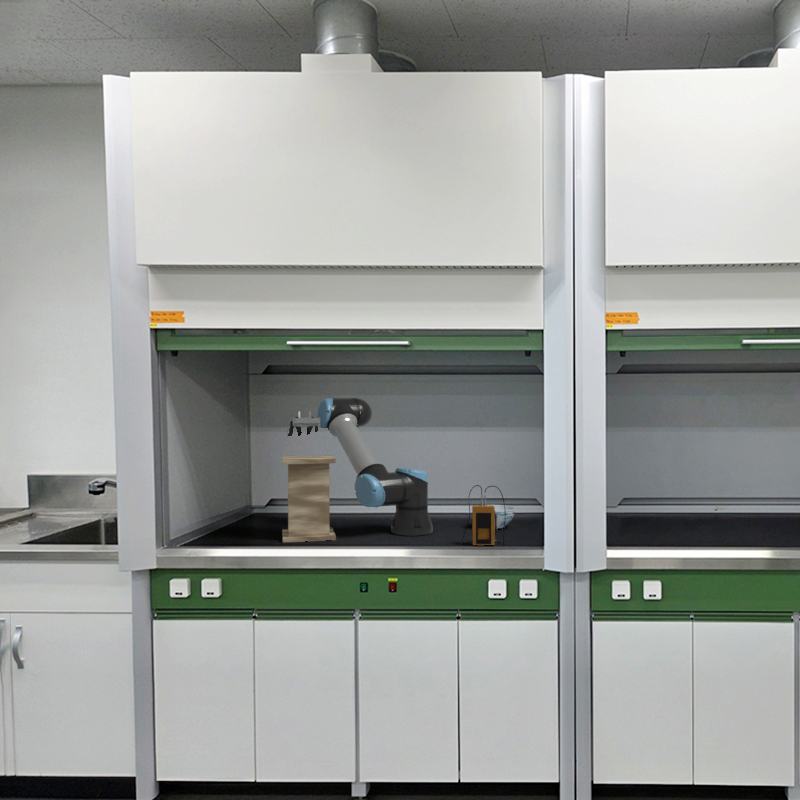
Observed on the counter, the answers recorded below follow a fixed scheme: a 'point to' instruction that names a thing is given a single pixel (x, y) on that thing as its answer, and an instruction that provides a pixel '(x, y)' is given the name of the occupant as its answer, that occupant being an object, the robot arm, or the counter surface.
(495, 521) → the multimeter
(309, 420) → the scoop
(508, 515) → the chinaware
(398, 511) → the robot arm
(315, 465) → the stand
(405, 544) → the counter surface
